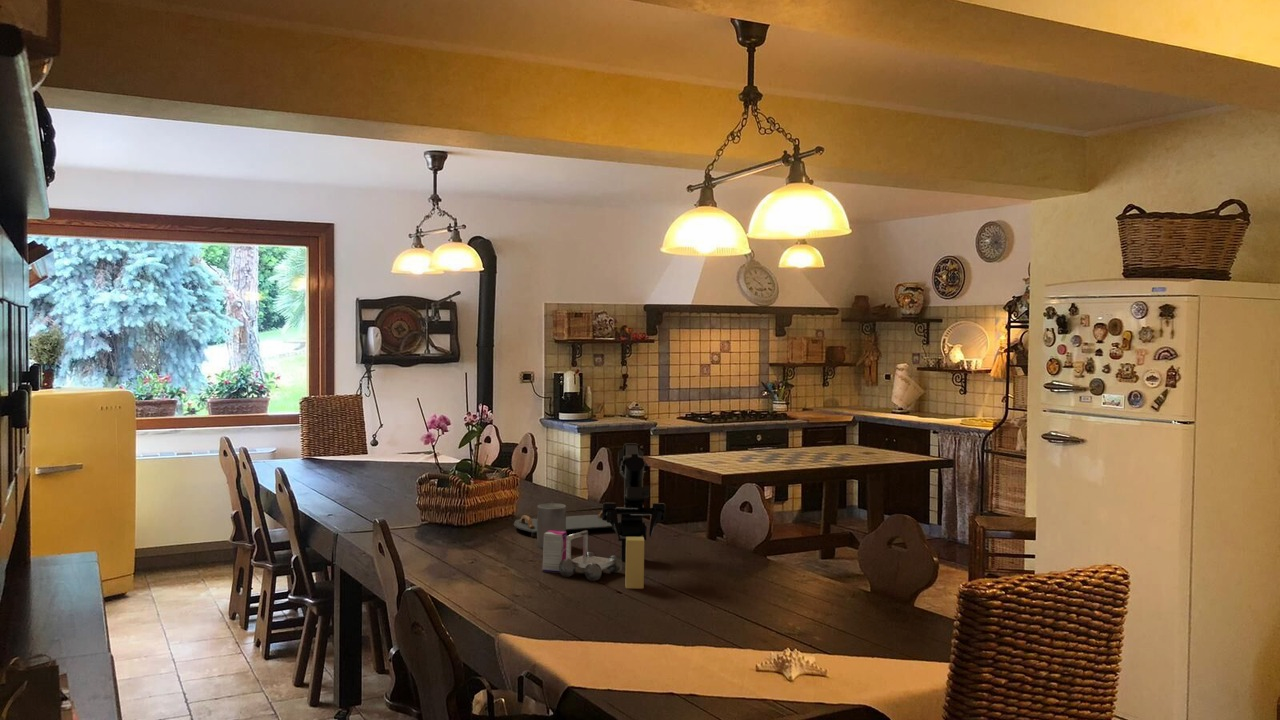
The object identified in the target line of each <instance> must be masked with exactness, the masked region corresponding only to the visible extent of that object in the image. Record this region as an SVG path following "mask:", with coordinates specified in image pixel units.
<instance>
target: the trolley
mask: <svg viewBox="0 0 1280 720" xmlns="http://www.w3.org/2000/svg"><path fill="white" fill-rule="evenodd" d="M578 538H582V555H580V556H577V557H575V558H572V541H573V540H575V539H578ZM588 538H589V531H588V529H584V530H582V531H580V532H579V531H578V532H576V533H572V534H569V535H567V536H566V559H565V560H562V561H561V562H560V564H559V571H560V575H561V576H562V577H564V578H569V577H571V576H573V575H575V573H576V570H577V568H581V569H584V575H585V577H586V579H587V580H588V581H590V582H596V581H599V580H600V579H601V577H602V575H603V574H602V573H603V571H604V570H608V572H609V573H613V574H616V573H619V572H620V571H621V570H622V569H623V566H624V565H623V560H621V558H620V557H621V556H618V555H617V554H616V555H615V554H614V555H611V556H608V557H601V556H597V555H596V554H595V553H594V552H593V551H589V549H588V547H589V545H588V542H589V541H588V540H589V539H588Z"/></svg>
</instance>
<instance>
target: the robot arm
mask: <svg viewBox="0 0 1280 720" xmlns="http://www.w3.org/2000/svg"><path fill="white" fill-rule="evenodd" d="M617 467H618V468H619V474H620V476H621V477H622V478H623V499H624V502H623V503H624V504H623V506H616V505H617V502H604V503H602V509H601V511H602V520H604V521H607V522H608V523H610V524H611V525H612V526H613V527H612V528H614V530H615V531H614V532H615V534H616V536H617V541H618V542H621V551H620V552H621V553H620V554H621V556H619V557H620V558H621V560H622V561H624V562H626V537H644V541H647V531H648V530H647V529H648V526H647V525H646V522H645V521H644V520H643V519H644V518H643V516H650V525H649V533H648V534H649V535H648V536H649V538H651V537H652V535H653V532H654V529H655V528H656V526H657V525H658V524H660V523H662V522H664V521H665V520H666V516H667V515H666V514H667V505H666V504H665V503H664V502H652V504H651V505H652V507H645V506H644V505H645V498H650V485H644V480H643V479H644V476H645V475H644V473H646V472H647V470H649V465H648V464H647V462H646V460H644V451H643V450H641V448H640V444H639V443H636V442H635V443H633V442H632V443H630V442H629V443H627V442H626V443H624V444H623V447H622V448H621V449H619V451H617ZM618 515H620V520H619V518H618ZM618 521H619V522H618Z"/></svg>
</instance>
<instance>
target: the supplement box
mask: <svg viewBox="0 0 1280 720" xmlns="http://www.w3.org/2000/svg"><path fill="white" fill-rule="evenodd" d="M567 533H568V532H567V531H566V532H564V531H551V530H549V531H548V532H546V533H544V545H543V551H542V572H544V573H556V574H557V573H558V574H559V573H560V571H559V564H560V562H561V561H562V560H565V559H566V536H568V535H567ZM560 574H561V573H560Z"/></svg>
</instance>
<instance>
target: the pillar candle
mask: <svg viewBox="0 0 1280 720" xmlns="http://www.w3.org/2000/svg"><path fill="white" fill-rule="evenodd" d="M536 509H537V512H536V513H537V514H536V515H537V537H536V547H537V548H539V549H541V550H542V549H543V545H544V533H546V532H548V531H549V530H551V531H564V532H567V530H566V517H567V506H566V504H564V503H559V502H558V503H557V502H556V503H555V502H551V503H550V502H548V503H540V504H538V505H537V508H536Z"/></svg>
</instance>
